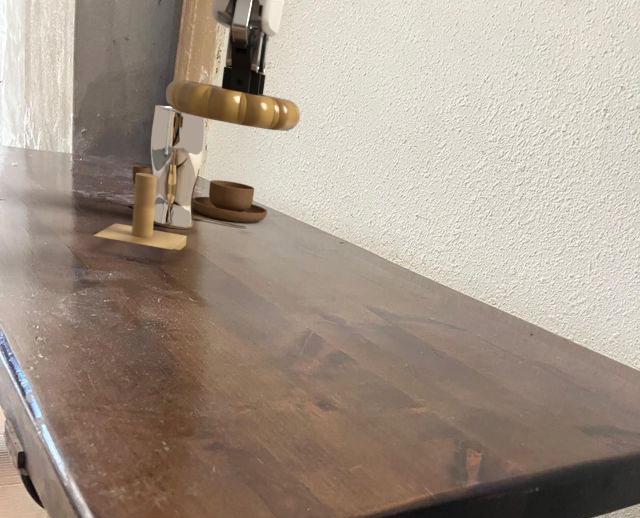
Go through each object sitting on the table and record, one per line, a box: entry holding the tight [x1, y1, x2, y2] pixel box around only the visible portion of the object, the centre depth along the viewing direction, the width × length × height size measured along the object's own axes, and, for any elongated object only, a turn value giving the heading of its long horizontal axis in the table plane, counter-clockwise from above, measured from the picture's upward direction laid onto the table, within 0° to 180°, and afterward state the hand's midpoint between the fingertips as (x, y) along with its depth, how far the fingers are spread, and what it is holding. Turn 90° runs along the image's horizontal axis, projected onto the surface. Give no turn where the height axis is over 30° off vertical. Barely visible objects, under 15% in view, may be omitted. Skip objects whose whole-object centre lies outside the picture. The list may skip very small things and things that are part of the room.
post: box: [93, 173, 188, 251], centre depth 88 cm, size 9×9×8 cm
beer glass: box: [150, 104, 206, 230], centre depth 101 cm, size 7×7×15 cm
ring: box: [165, 79, 301, 132], centre depth 63 cm, size 11×11×2 cm
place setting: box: [129, 164, 268, 228], centre depth 117 cm, size 18×20×6 cm
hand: (239, 116), depth 68 cm, fingers closed on ring, 2 cm apart
